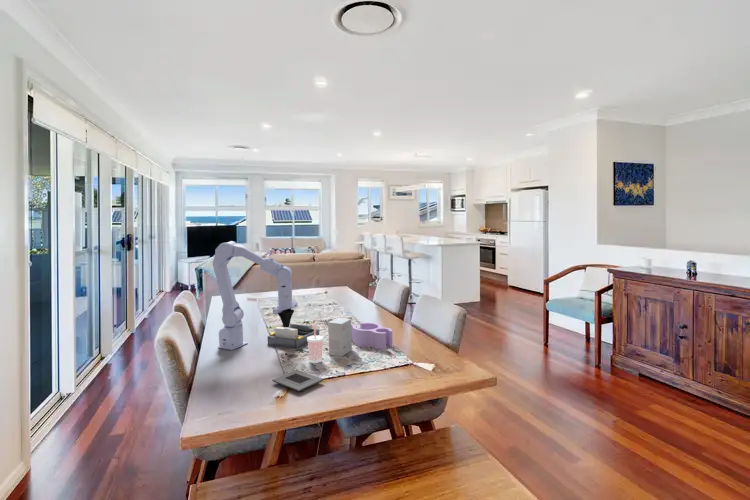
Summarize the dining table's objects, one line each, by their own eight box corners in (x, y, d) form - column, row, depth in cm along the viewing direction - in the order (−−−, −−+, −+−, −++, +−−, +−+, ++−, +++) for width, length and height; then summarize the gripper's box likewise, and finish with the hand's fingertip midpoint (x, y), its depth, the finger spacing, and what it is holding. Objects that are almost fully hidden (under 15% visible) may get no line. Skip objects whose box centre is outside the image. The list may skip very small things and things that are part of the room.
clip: (398, 344, 172) (398, 328, 172) (378, 352, 164) (378, 335, 163) (365, 335, 186) (365, 320, 186) (345, 341, 177) (344, 326, 177)
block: (294, 347, 171) (294, 330, 170) (275, 344, 175) (274, 328, 175) (298, 345, 173) (297, 329, 173) (278, 342, 177) (278, 326, 177)
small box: (338, 348, 169) (337, 317, 168) (352, 350, 166) (351, 318, 165) (328, 354, 161) (327, 322, 160) (342, 356, 159) (341, 323, 158)
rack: (296, 348, 168) (296, 334, 168) (267, 344, 174) (267, 330, 174) (319, 337, 184) (319, 324, 183) (291, 333, 190) (291, 320, 189)
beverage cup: (312, 357, 159) (311, 321, 157) (326, 359, 156) (325, 323, 155) (304, 362, 153) (303, 326, 152) (318, 364, 151) (317, 327, 149)
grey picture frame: (272, 385, 134) (271, 378, 134) (296, 375, 142) (296, 368, 142) (299, 396, 126) (298, 389, 126) (323, 384, 134) (323, 377, 134)
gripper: (282, 299, 164) (283, 332, 165) (302, 292, 177) (303, 323, 178) (268, 298, 167) (269, 330, 168) (289, 291, 180) (290, 321, 181)
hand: (286, 326), depth 174 cm, fingers closed
